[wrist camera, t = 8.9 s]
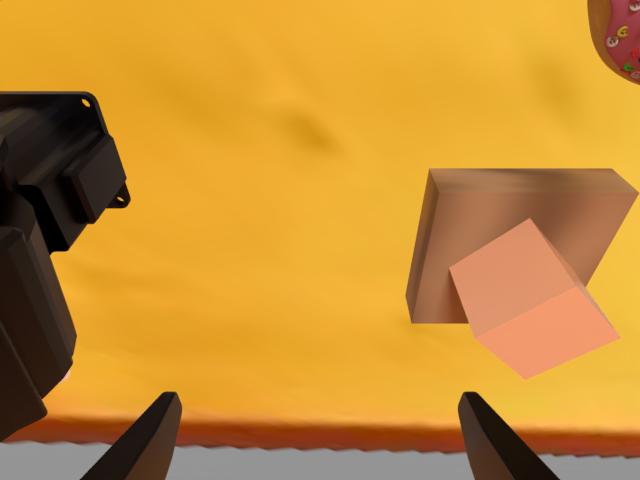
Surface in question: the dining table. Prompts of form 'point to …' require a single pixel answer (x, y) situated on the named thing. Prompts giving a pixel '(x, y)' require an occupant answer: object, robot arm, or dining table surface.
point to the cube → (529, 303)
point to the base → (509, 224)
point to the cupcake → (617, 35)
